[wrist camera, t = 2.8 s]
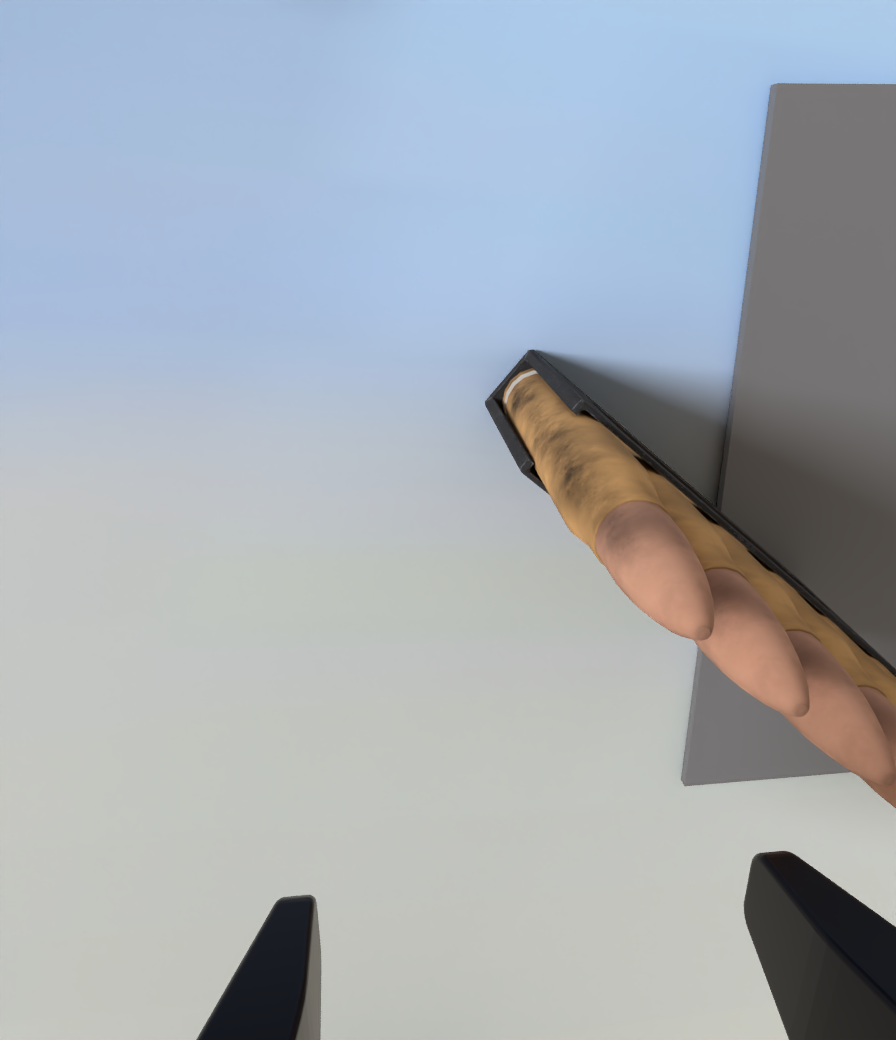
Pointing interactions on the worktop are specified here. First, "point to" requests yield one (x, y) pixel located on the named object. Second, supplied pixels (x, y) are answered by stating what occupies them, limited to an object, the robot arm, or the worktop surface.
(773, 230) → the rubber mat
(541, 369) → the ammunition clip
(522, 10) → the worktop surface
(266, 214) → the worktop surface
